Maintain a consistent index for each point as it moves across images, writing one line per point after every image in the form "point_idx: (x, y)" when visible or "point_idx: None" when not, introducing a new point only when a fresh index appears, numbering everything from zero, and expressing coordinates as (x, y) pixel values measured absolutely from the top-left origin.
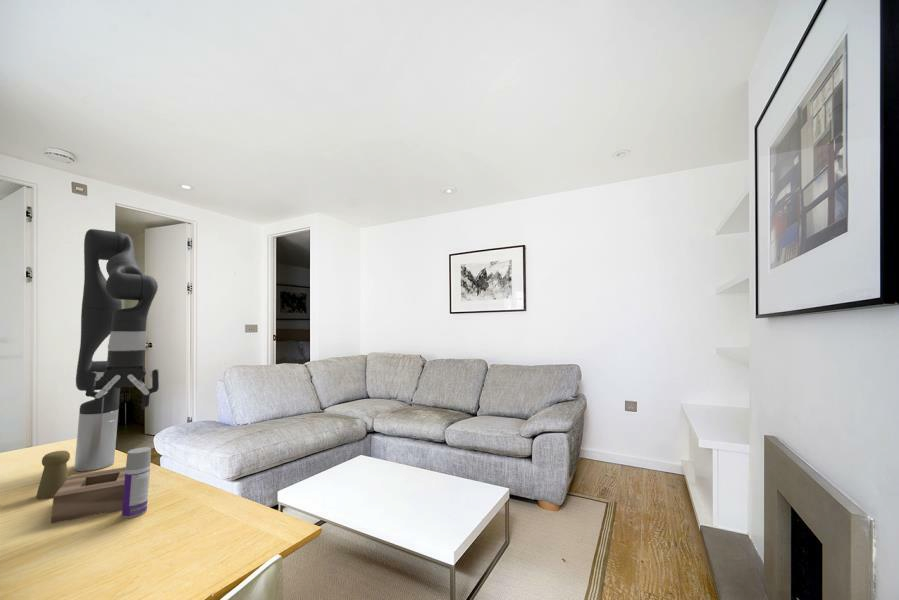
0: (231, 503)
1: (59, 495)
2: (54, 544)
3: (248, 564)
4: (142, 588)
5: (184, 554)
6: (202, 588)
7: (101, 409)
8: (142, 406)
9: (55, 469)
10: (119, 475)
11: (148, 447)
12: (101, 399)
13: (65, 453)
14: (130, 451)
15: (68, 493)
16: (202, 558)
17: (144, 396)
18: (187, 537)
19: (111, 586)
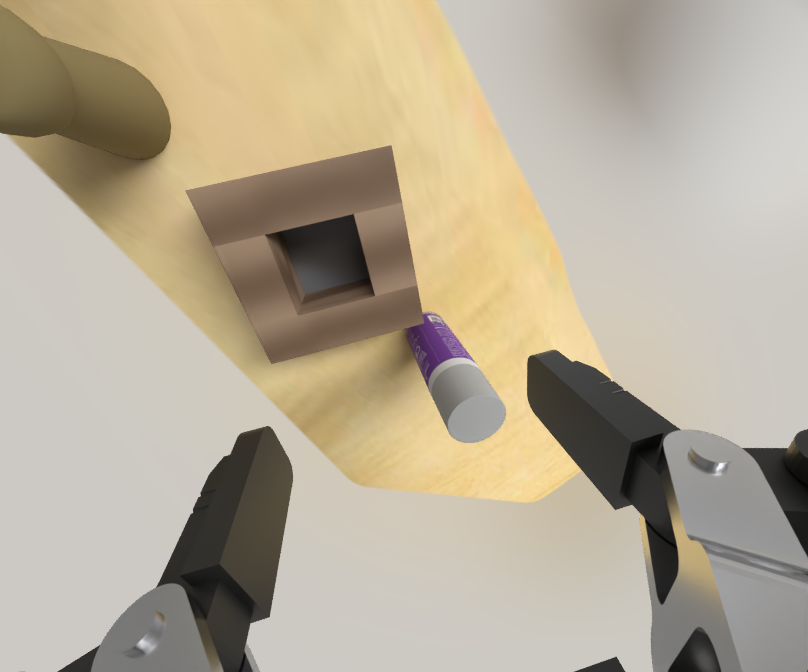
0: (579, 334)
1: (281, 360)
2: (342, 406)
3: (568, 476)
4: (481, 494)
5: (513, 454)
6: (529, 499)
7: (289, 499)
8: (546, 419)
9: (74, 128)
10: (365, 249)
11: (497, 399)
12: (263, 608)
13: (28, 80)
14: (454, 427)
15: (297, 354)
16: (530, 462)
17: (622, 493)
18: (515, 422)
19: (453, 489)
